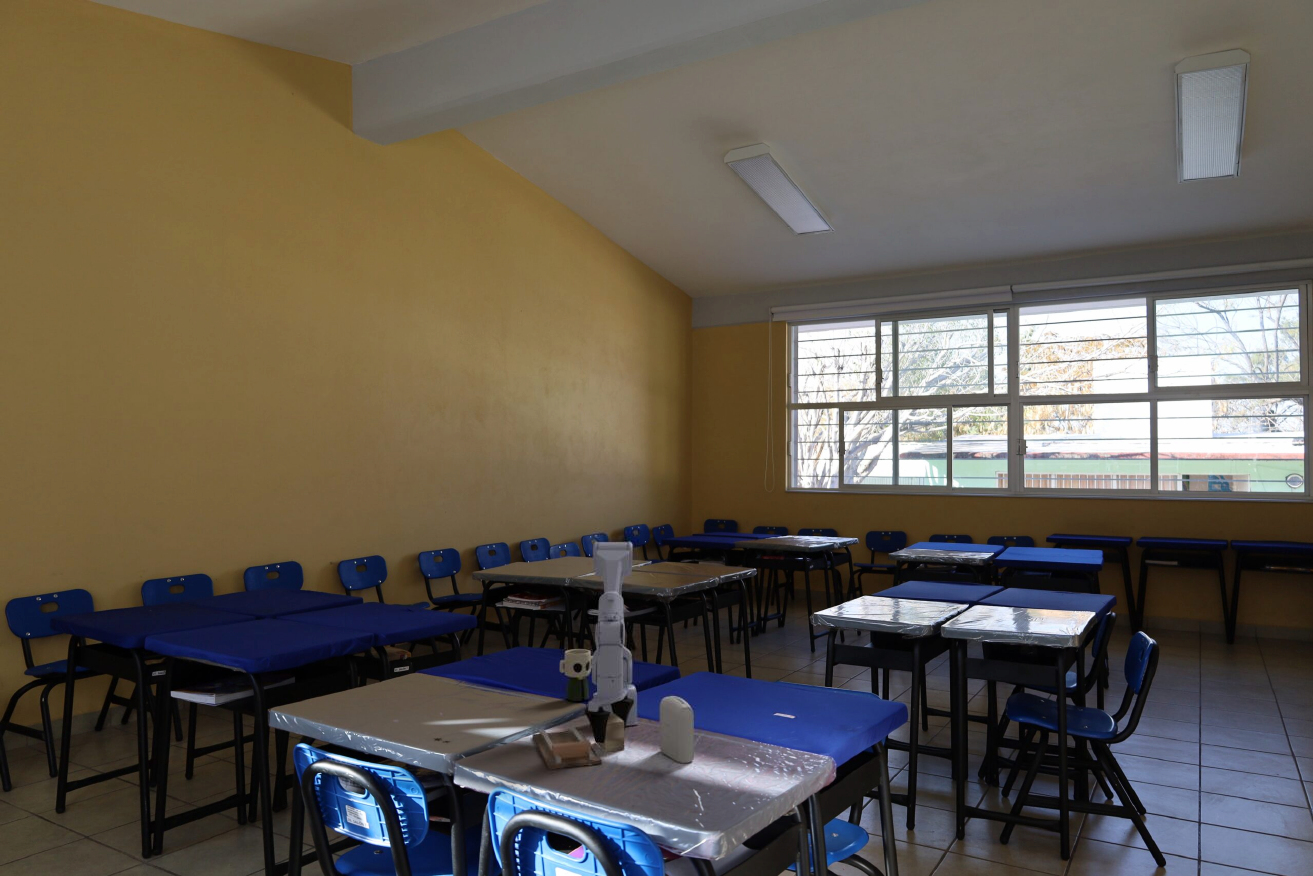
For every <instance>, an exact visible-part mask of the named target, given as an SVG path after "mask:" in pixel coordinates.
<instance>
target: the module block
mask: <svg viewBox="0 0 1313 876" xmlns="http://www.w3.org/2000/svg"><path fill="white" fill-rule="evenodd" d="M596 743H597V744H598V745H599V746H600V747H601V748H602V749H603V750H604V751H605V753H607V752H606V751H609V752H615V751H622V750H625V731H624V721H623V720H622V719H620V718H619V717H618V716H617V715H615V714H614V713H613V714H610V715H609V718H608V721H607V726H606V737H605V742H604V743H598V742H596ZM596 743H595V744H596ZM597 744H596V745H597ZM598 745H597V746H598ZM599 746H598V747H599ZM600 747H599V748H600ZM601 748H600V749H601ZM602 749H601V750H602ZM603 750H602V751H603ZM614 750H615V751H614ZM604 751H603V752H604Z"/></svg>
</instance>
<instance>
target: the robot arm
mask: <svg viewBox="0 0 1313 876" xmlns="http://www.w3.org/2000/svg"><path fill="white" fill-rule="evenodd" d="M592 562H593V571H594V572H595V575H596V576H597V577H600V578H601V579H602V580H603V589H604V590H603V591H604V593H603V594H601V596H600V597H599V600H598V614H597V617H598V618H597V623H596V624H595V636H594V637H595V639H594V640H595V646H596V650H595V651H594V653H593V654H592V656H593V663H592V662H591V665H592V668H591V682H592V684H594V685H595V686H596V688H597V689H596V690H597V692H595V693H593V695H592V696H593V698H592V699H591V700H590V701H588V702H587V703H588V705H587V708H585V709H584V715H585V716H586V718H587V720H588V721H589V724H590V726H591V727H590V728H591V730H592V734H593V739H594V743H595V742H598V743H604V742H605V737H606V726H607V721H608V718H609V715H610V714H613V713H614V714H615V715H617V716H618V717H619V718H620V719H622V720H623V721H624V732H625V730H626V726H638V724H639V723H638V694H637V689H636V687H635V685H634V684H632V682H633V660H632V659H633V658H632V653H631V650H629V648H627V647H626V646H625V644H626V643H625V641H626V640H625V638H626V629H625V627H626V626H625V618H624V598H623V596H622V587H623V586H622V585H623V583H624V580H625V578H627V577H629V576H631V574H632V571H633V543H632V542H631V541H623V542H622V541H619V542H618V541H615V542H613V541H612V542H611V541H607V542H604V541H602V542H601V541H599V542H598V541H595V542H594V543H593V547H592Z"/></svg>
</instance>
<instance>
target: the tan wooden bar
mask: <svg viewBox="0 0 1313 876" xmlns="http://www.w3.org/2000/svg"><path fill="white" fill-rule="evenodd" d="M591 746H592V743H591V741H590V740H587V741H581V742H570V743H560V744H552V751H553V752H552V757H553V759H554V756H553V754H554V753H559V755H560V757H561V759H562V758H572V757H582V756H586V750H591Z"/></svg>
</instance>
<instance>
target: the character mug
mask: <svg viewBox="0 0 1313 876" xmlns="http://www.w3.org/2000/svg"><path fill="white" fill-rule="evenodd" d="M591 653H592V652H591V650H589V649H583V648H575V649H569V650H565V651H564V659H562V660H560V661H559V672H560V673H561V674H562V673H564V675H565V676H567V677H569V678H568V680H567V684H566V685H567V686H566V693H565V698H566V699H568V700H570V701H575V702H577V701H582V700H584V701H586V700H588V699H589V698H590V694H589V693H590V691H589V683H588V679H587V677H588V676H589V675H590V673H591V672H592V663H593V655H591Z"/></svg>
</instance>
